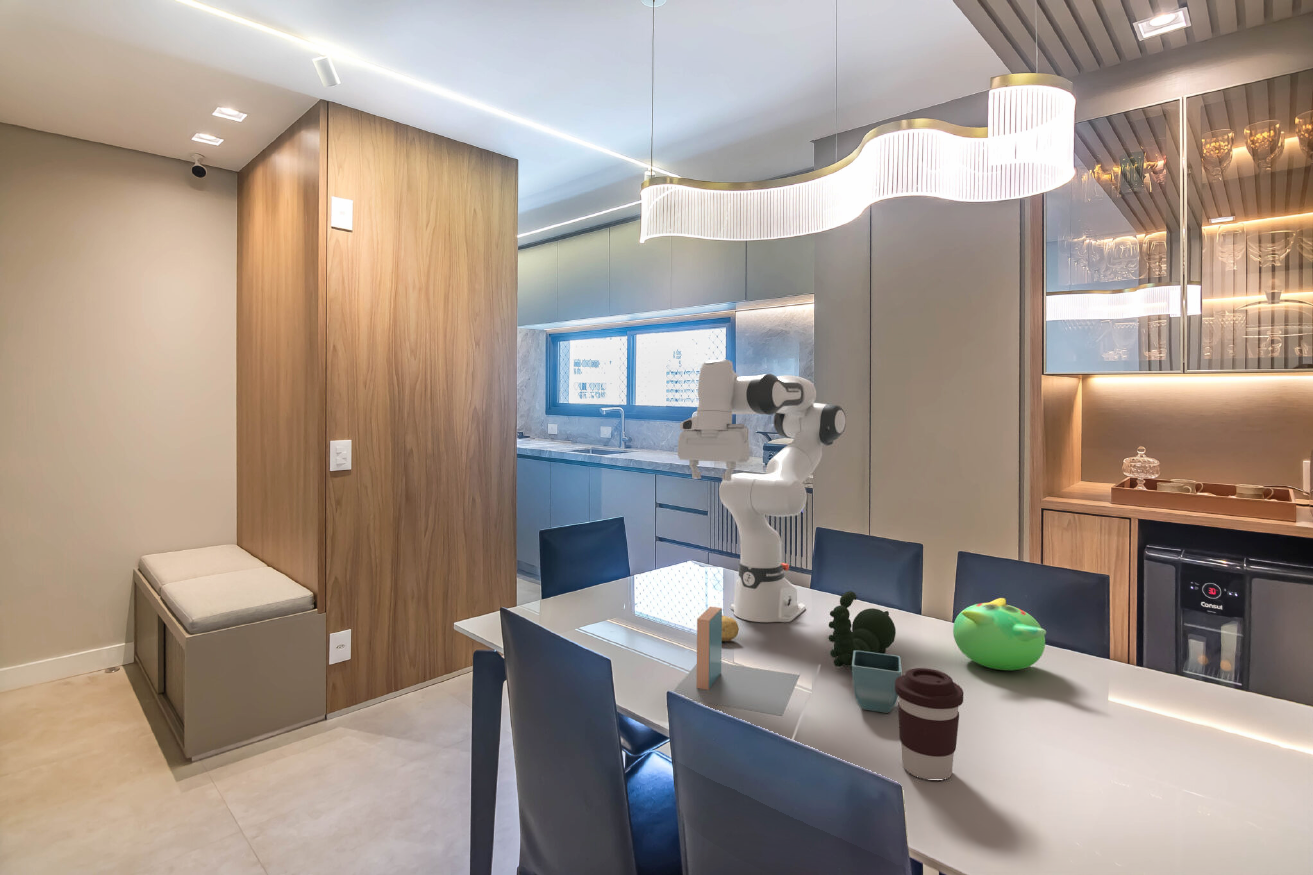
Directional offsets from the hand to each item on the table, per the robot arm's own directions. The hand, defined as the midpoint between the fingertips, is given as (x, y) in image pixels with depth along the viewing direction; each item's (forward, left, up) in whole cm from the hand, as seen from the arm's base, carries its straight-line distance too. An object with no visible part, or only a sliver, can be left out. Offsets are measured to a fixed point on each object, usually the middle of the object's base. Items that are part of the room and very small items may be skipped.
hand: (711, 479), depth 161 cm
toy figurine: (-10, +36, -40) cm, 54 cm away
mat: (+20, +22, -39) cm, 49 cm away
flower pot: (+9, +47, -40) cm, 62 cm away
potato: (0, +3, -40) cm, 40 cm away
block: (+22, +17, -39) cm, 48 cm away
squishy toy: (-28, +59, -40) cm, 76 cm away
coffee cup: (+25, +62, -40) cm, 78 cm away
